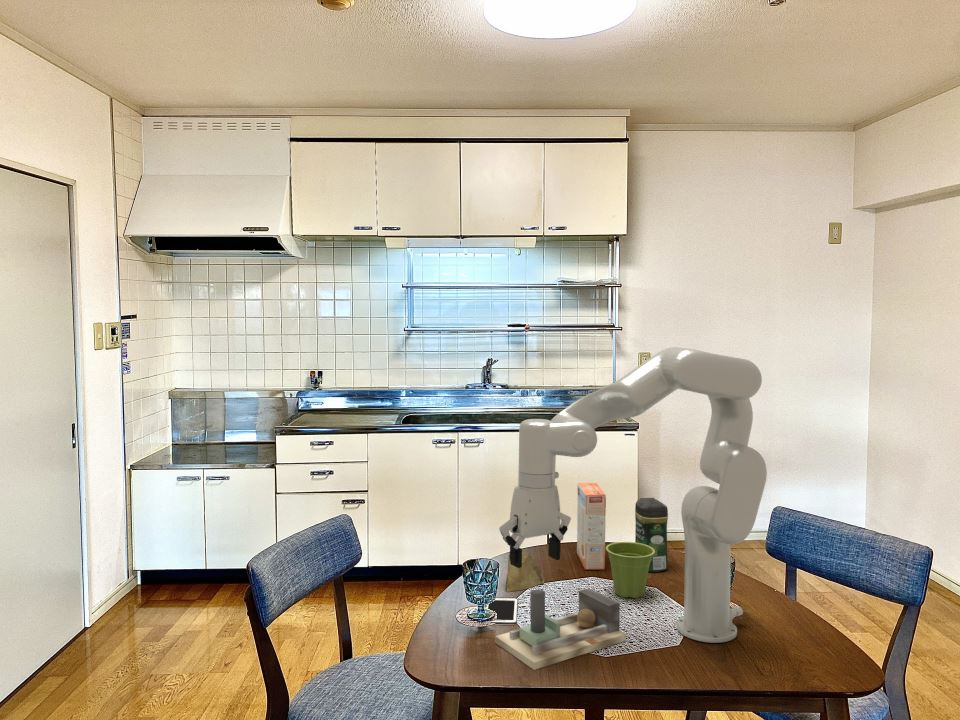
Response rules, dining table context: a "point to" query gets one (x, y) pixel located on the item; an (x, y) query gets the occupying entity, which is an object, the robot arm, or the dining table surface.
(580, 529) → the cracker box
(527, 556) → the rock
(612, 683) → the dining table surface
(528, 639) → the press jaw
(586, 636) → the press frame
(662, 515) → the coffee jar
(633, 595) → the plant pot
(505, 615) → the cell phone
